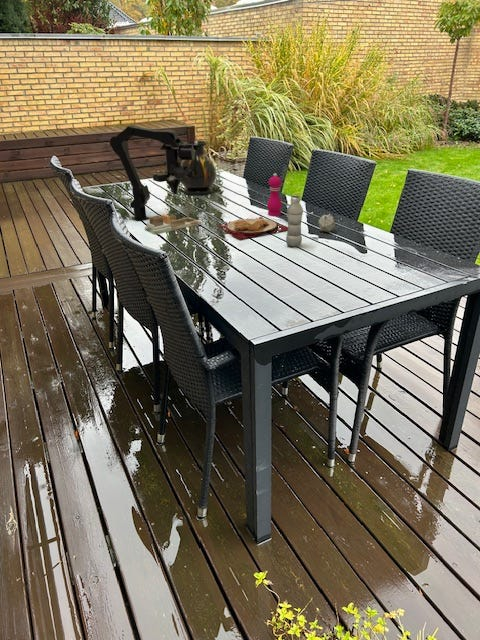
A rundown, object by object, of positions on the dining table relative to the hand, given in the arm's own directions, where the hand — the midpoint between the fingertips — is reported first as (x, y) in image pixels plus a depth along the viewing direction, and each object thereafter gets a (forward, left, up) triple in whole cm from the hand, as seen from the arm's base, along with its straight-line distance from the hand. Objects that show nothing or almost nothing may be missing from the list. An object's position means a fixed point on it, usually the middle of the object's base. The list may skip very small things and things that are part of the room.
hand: (174, 194), depth 229 cm
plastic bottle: (+64, +16, -13) cm, 67 cm away
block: (+8, -16, -10) cm, 20 cm away
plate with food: (+34, +18, -13) cm, 41 cm away
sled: (+8, -15, -11) cm, 20 cm away
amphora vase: (-41, +41, -13) cm, 59 cm away
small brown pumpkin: (+60, +40, -13) cm, 73 cm away
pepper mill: (+24, +42, -13) cm, 50 cm away
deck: (+8, -7, -12) cm, 17 cm away
